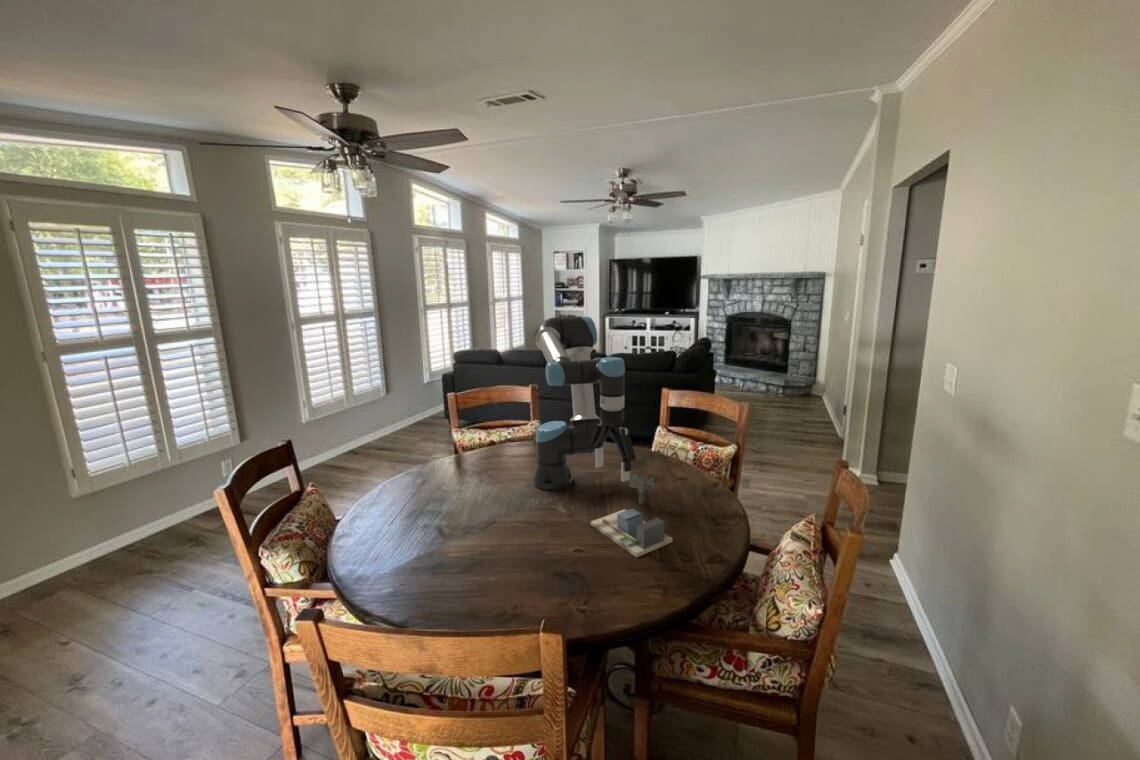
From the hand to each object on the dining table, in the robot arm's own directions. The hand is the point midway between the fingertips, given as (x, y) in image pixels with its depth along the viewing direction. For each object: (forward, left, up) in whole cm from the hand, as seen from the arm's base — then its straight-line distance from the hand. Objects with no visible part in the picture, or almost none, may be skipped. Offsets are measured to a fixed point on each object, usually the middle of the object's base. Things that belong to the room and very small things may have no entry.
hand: (611, 473), depth 148 cm
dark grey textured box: (+18, 0, -15) cm, 24 cm away
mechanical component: (-4, +16, -17) cm, 23 cm away
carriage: (+9, 0, -15) cm, 18 cm away
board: (+9, 0, -17) cm, 19 cm away
